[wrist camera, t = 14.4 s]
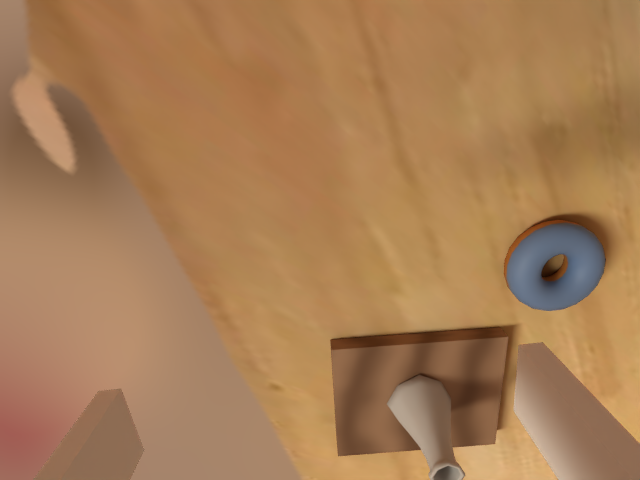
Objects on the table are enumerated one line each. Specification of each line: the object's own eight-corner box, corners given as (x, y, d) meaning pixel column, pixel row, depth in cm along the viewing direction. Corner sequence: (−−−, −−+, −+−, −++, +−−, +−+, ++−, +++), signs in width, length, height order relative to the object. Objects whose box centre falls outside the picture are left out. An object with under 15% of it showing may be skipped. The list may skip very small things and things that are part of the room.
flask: (460, 395, 45) (501, 472, 36) (417, 432, 47) (445, 514, 38) (418, 364, 43) (449, 435, 34) (375, 403, 45) (393, 481, 36)
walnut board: (499, 327, 44) (508, 336, 43) (487, 431, 50) (494, 444, 48) (330, 339, 44) (331, 350, 42) (336, 442, 50) (338, 456, 48)
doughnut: (487, 298, 43) (512, 318, 39) (508, 212, 40) (538, 223, 36) (564, 300, 44) (597, 319, 40) (590, 218, 42) (627, 229, 37)
